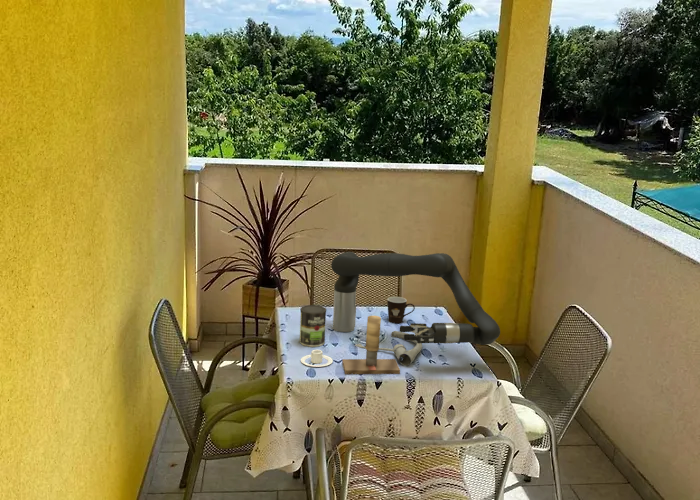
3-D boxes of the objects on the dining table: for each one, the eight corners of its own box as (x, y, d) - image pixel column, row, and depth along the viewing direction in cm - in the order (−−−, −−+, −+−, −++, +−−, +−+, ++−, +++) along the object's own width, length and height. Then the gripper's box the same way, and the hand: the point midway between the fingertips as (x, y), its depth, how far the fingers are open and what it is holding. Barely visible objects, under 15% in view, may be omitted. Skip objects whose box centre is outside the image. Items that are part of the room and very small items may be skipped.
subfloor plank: (345, 374, 241) (345, 369, 240) (342, 363, 250) (342, 358, 250) (399, 373, 243) (400, 369, 243) (394, 362, 253) (395, 358, 252)
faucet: (344, 358, 262) (375, 336, 286) (411, 366, 249) (437, 343, 273) (344, 346, 261) (374, 325, 285) (410, 354, 248) (436, 332, 272)
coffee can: (328, 345, 266) (330, 312, 263) (304, 348, 263) (305, 314, 259) (320, 336, 276) (321, 303, 272) (296, 338, 272) (297, 305, 268)
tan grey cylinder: (369, 360, 249) (372, 314, 245) (380, 363, 247) (383, 317, 243) (362, 364, 246) (365, 317, 241) (373, 367, 243) (376, 320, 239)
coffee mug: (382, 321, 297) (383, 299, 294) (392, 316, 304) (393, 295, 301) (404, 327, 290) (406, 305, 288) (414, 322, 297) (416, 301, 295)
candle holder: (302, 355, 257) (302, 344, 256) (333, 356, 256) (334, 346, 255) (299, 367, 245) (299, 356, 244) (331, 369, 245) (332, 358, 244)
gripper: (441, 316, 252) (398, 316, 250) (450, 330, 239) (406, 330, 237) (439, 335, 254) (397, 335, 252) (449, 350, 240) (404, 350, 238)
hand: (401, 333), depth 244 cm, fingers open, 8 cm apart
